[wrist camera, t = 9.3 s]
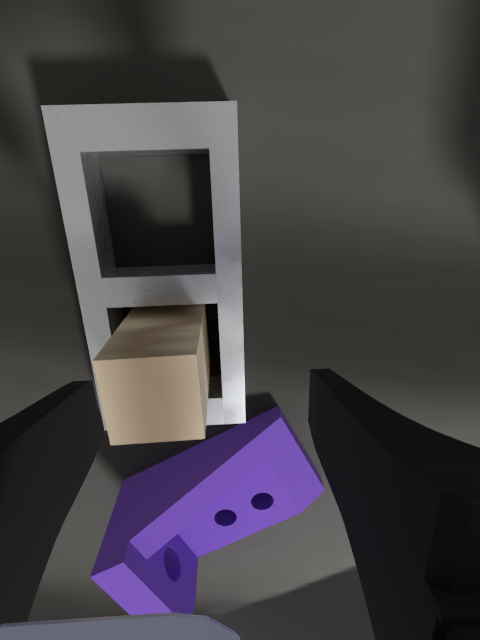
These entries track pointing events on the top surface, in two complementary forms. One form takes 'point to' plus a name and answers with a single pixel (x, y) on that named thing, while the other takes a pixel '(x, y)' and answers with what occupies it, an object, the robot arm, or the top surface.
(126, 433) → the peg
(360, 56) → the top surface
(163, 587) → the bracket
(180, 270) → the grey rectangular frame
